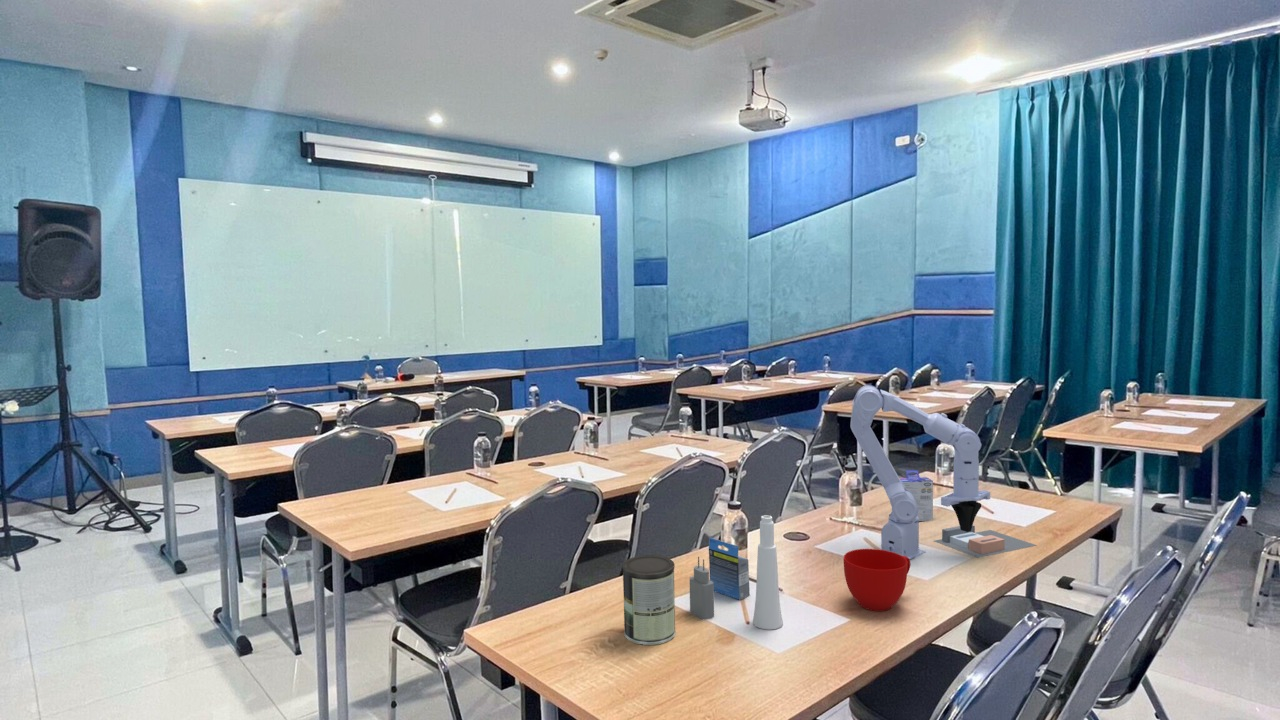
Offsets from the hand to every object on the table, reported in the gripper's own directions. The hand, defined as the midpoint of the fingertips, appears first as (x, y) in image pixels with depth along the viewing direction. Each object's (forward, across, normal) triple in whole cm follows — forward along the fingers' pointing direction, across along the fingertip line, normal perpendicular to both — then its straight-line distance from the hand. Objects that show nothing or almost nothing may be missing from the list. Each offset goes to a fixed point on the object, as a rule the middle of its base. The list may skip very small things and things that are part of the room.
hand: (965, 530), depth 176 cm
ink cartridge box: (+7, +12, +30) cm, 33 cm away
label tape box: (+7, -64, +6) cm, 65 cm away
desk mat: (+7, +12, +5) cm, 15 cm away
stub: (+6, +8, +1) cm, 11 cm away
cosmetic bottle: (+7, -65, -10) cm, 66 cm away
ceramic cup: (+7, -38, -12) cm, 40 cm away
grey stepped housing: (+6, +8, +7) cm, 13 cm away
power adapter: (+7, -75, 0) cm, 75 cm away
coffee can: (+7, -88, -4) cm, 89 cm away
